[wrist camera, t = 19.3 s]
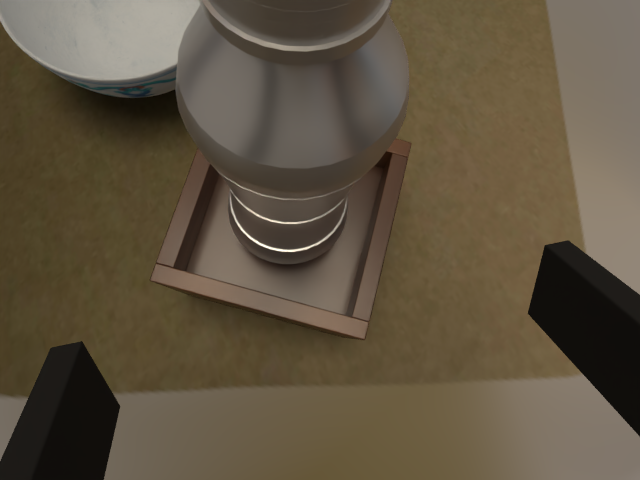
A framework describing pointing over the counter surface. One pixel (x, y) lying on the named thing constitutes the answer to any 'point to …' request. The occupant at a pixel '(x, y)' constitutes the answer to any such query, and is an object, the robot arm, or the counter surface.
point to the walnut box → (284, 279)
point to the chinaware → (103, 41)
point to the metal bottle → (291, 111)
